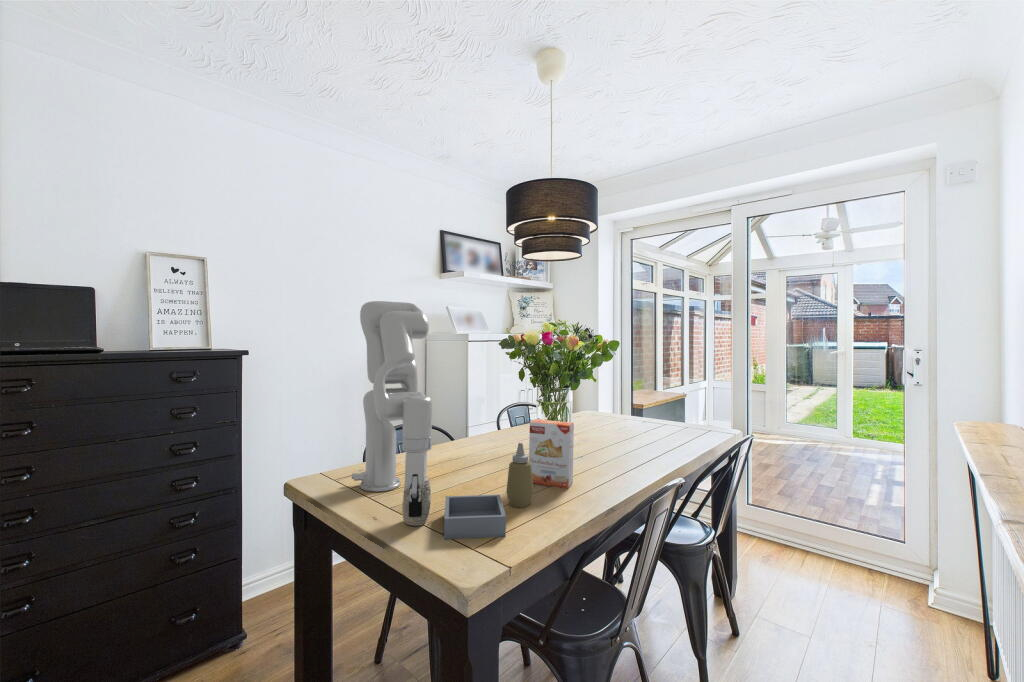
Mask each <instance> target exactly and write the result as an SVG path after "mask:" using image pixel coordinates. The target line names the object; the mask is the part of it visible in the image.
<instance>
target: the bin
mask: <svg viewBox="0 0 1024 682" xmlns="http://www.w3.org/2000/svg"><path fill="white" fill-rule="evenodd" d="M443 518H444V519H443V520H444V523H443V529H444V530H443V540H455V539H456V540H457V539H463V540H464V539H478V538H479V539H482V538H483V539H484V538H503V537H505V538H506V535H507V531H506V529H507V527H506V525H507V523H506V522H507V516H506V512H505V508H504V504H503V501H502V496H501V495H500V494H479V495H478V494H477V495H476V494H475V495H451V496H450V495H449V496H445V504H444V517H443Z"/></svg>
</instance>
